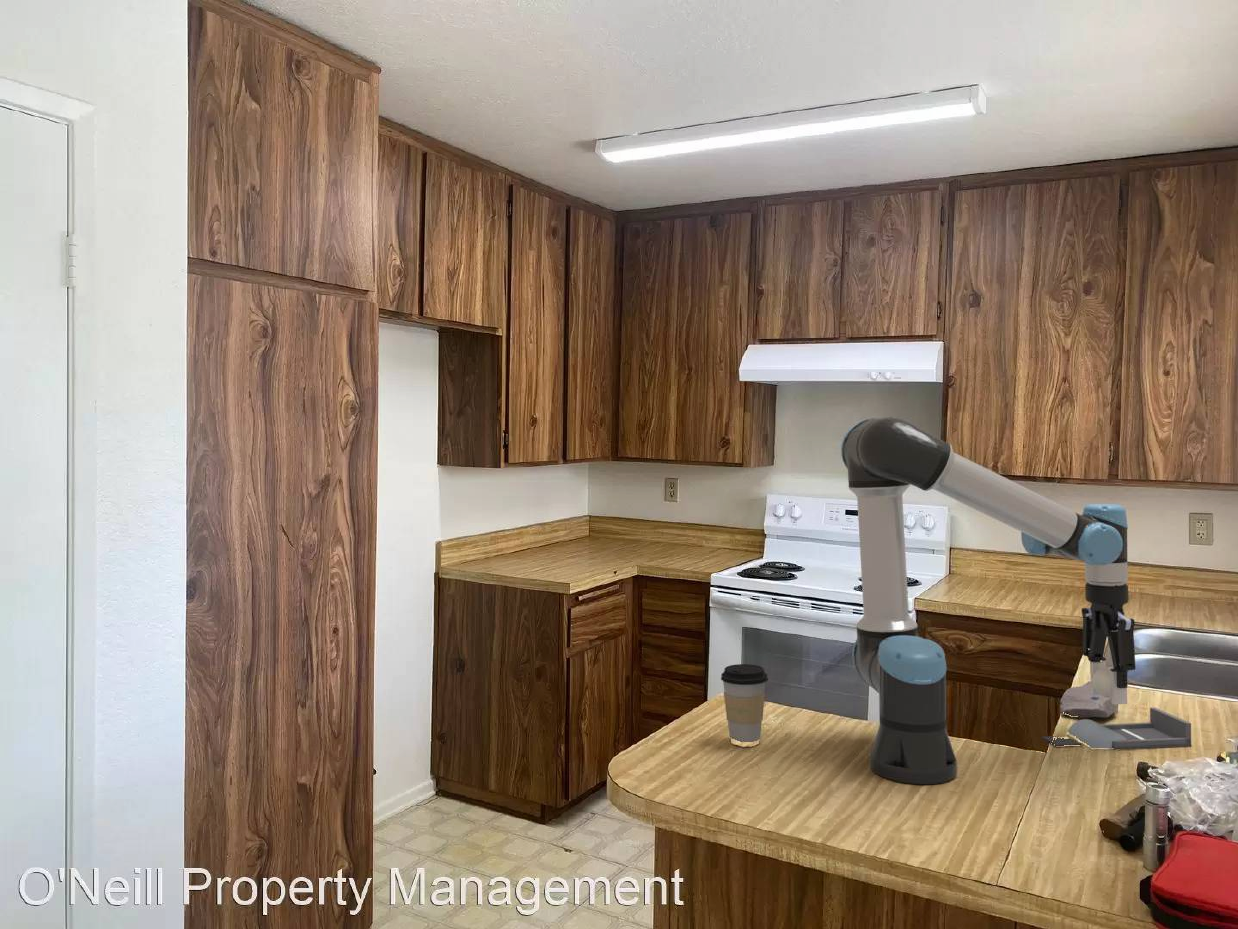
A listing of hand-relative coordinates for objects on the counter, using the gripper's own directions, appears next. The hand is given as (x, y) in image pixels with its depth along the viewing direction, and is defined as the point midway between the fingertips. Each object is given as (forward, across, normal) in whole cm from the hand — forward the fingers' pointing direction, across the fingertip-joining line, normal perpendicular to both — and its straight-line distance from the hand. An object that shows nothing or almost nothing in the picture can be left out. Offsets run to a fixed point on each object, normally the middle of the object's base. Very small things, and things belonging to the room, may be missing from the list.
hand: (1108, 698), depth 180 cm
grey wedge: (+13, 0, +2) cm, 14 cm away
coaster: (+8, 0, +10) cm, 13 cm away
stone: (+9, +17, -6) cm, 20 cm away
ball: (-3, 0, 0) cm, 3 cm away
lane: (+8, 0, -5) cm, 10 cm away
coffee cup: (+8, +8, +71) cm, 72 cm away
